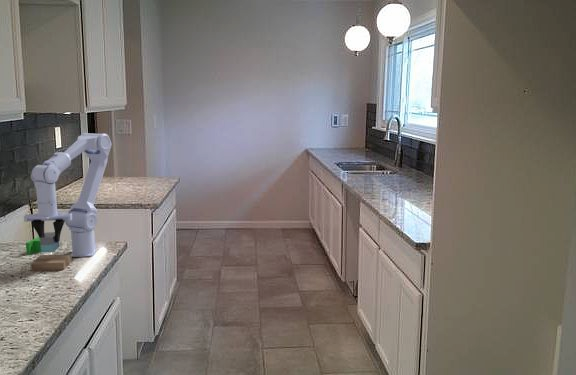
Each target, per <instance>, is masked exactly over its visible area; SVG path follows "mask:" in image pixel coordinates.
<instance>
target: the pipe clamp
mask: <svg viewBox="0 0 576 375" xmlns="http://www.w3.org/2000/svg"><path fill="white" fill-rule="evenodd" d="M25 249H26V250H25V251H26V256H27V255H28V256H29V255H32V254H34V253H41V244H40V238H39V236H38V237H35V238H33V239H31V240H29V241H27V242H25ZM41 254H42V253H41Z"/></svg>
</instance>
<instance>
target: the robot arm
mask: <svg viewBox="0 0 576 375" xmlns="http://www.w3.org/2000/svg"><path fill="white" fill-rule="evenodd" d="M112 145H113V144H112V141H111V139H110V136H109V134H107V133H93V132H92V133H90V132H89V133H88V132H83V133H81V134H80V135H79V136H77V140H76V141H75V142H73V144H71V145H70V146H69V147H68V148H66V150H65V151H64V152H62V151H59V152H58V151H57V152H54V153H53V156H51V157H50V158H49V159H48V160H45V161H44V162H43V163H42V164H37V165H36V166H34V167H33V168H32V169H31V174H30V178H31V180H32V181H33V184H34V187H35V190H36V201H37V203H36V204H37V213H33V214H24V215H23V221H24V222H25V223H27V222H32V223H31V226H32V227H33V229H34V230H35V232H36V233H37V236H38V237H39V238H40V237H41V236H42V235H44V234H45V233H46V232H45V221H46V222H47V221H48V222H49V221H53V222H52V225H53V230H54V232H55V241H56V242H59V243H60V241H61V233H62V230H63V226H64V225H66V227H68V229H69V231H70V235H71V236H70V237H71V249H72V250H71V253H70V254H71V258H76V257H77V258H78V257H81V258H85V257H93V256H94V255H95V254H96V252H97V250H99V247H96V237H95V231H94V229H95V228H96V226H97V223H98V214H99V211H98V209H97V208H96V206H95V202H96V198H97V195H98V192H99V189H100V186H101V183H102V180H103V177H104V173H105V170H106V167H107V164H108V160H109V159H108V158H109V154H110V151H111V149H112ZM82 153H84V154H85V155H86V157H87V158H89V160H90V163H89V166H88V169H87V172H86V176H85V178H84V182H83V184H82V187H81V190H80V191H81V192H80V194H79V197H78V200H77V202H75V203H73V204H72V205H70V208H69V210H68V211H67V212H66V213H64V212H58V203H57V188H56V182H57V181H58V179H59V178H60V175H61V173H62V172H64V171H66V169H68V168H69V167H70V166H71V164H72V160H73V159H75V158H77V157H78V156H79V155H81V154H82Z"/></svg>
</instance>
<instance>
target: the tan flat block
mask: <svg viewBox="0 0 576 375" xmlns="http://www.w3.org/2000/svg"><path fill="white" fill-rule="evenodd" d="M71 262H72V257H71V253H66V254H64V253H62V254H40V255H39V256H38V257H37V258H35V260H33V261H32V263H31V264H30V265H31V272H39V271H40V272H41V271H42V272H43V271H65V269H66V268H67V267H68V266H69V265H70V264H71Z"/></svg>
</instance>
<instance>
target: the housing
mask: <svg viewBox="0 0 576 375" xmlns="http://www.w3.org/2000/svg"><path fill="white" fill-rule="evenodd" d="M44 233H45V234H44V235H42V236H41V237H40V244H41V254H42V253H55V252H56V250H58V249H59V248H60V241H59V242H56V241H55V231H53V232H51V231H50V232H48V231H47V232H44Z"/></svg>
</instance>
